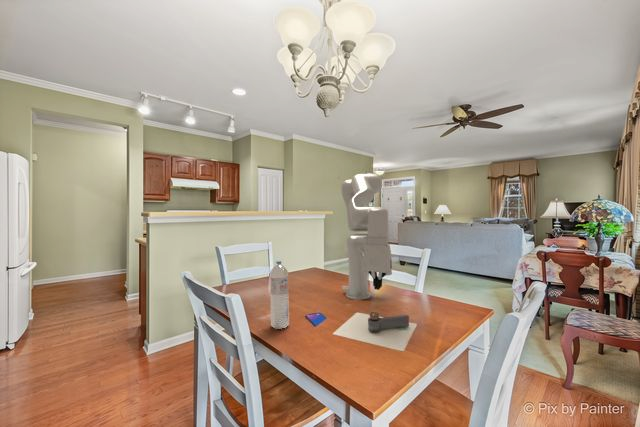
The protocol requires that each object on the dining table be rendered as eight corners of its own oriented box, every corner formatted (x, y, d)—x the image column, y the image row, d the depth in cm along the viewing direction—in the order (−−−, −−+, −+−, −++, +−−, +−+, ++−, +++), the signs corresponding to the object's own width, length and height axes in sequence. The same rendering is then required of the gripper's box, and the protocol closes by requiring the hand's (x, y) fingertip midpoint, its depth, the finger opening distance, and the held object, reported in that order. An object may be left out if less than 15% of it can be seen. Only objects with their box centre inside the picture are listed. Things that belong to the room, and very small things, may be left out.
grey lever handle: (371, 333, 92) (371, 317, 92) (366, 327, 96) (365, 312, 96) (411, 328, 95) (410, 312, 95) (404, 322, 100) (404, 307, 100)
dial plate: (332, 338, 93) (332, 333, 93) (356, 315, 112) (356, 311, 112) (403, 356, 81) (403, 350, 81) (417, 327, 100) (417, 323, 100)
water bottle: (274, 331, 98) (272, 263, 98) (268, 324, 104) (267, 260, 104) (291, 327, 102) (290, 261, 101) (285, 321, 108) (284, 258, 107)
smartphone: (318, 330, 99) (304, 314, 112) (318, 332, 99) (304, 317, 112) (336, 326, 102) (320, 312, 115) (336, 328, 102) (320, 314, 115)
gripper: (355, 240, 102) (355, 288, 103) (395, 244, 95) (394, 295, 96) (362, 238, 109) (362, 282, 110) (400, 240, 101) (399, 288, 102)
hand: (377, 288), depth 103 cm, fingers closed
